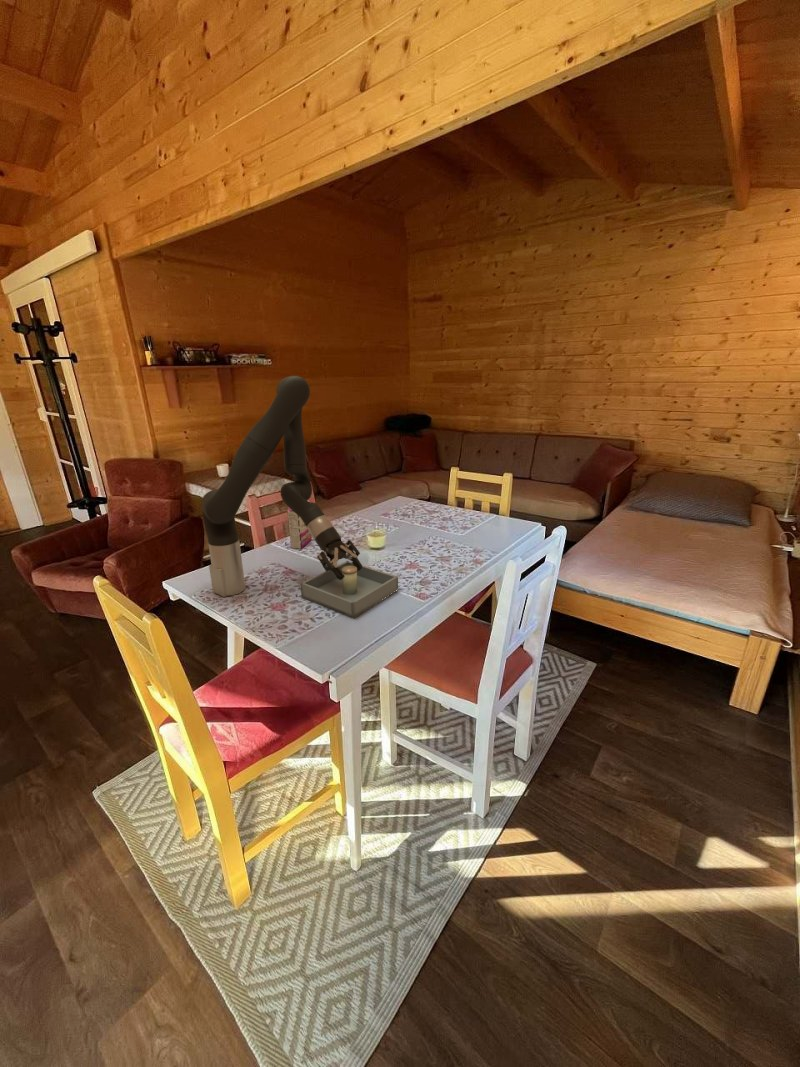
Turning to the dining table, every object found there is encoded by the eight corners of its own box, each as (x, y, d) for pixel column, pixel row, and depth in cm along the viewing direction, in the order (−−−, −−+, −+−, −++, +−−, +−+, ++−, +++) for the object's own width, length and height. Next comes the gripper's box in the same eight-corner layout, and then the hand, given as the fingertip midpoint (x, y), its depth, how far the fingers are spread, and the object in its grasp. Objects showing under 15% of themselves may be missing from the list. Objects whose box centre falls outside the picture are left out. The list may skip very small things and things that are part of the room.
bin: (353, 618, 131) (353, 603, 129) (301, 597, 143) (300, 583, 141) (397, 590, 148) (398, 576, 146) (348, 573, 160) (347, 560, 158)
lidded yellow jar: (350, 596, 142) (350, 573, 139) (339, 591, 144) (338, 569, 142) (360, 590, 145) (360, 568, 143) (349, 586, 148) (348, 564, 145)
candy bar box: (301, 539, 192) (298, 502, 187) (312, 539, 191) (309, 502, 186) (290, 548, 182) (286, 510, 176) (301, 549, 181) (298, 510, 175)
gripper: (312, 532, 137) (342, 576, 135) (344, 520, 148) (372, 561, 145) (302, 545, 142) (330, 587, 139) (333, 532, 152) (360, 571, 150)
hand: (351, 574), depth 142 cm, fingers open, 8 cm apart
